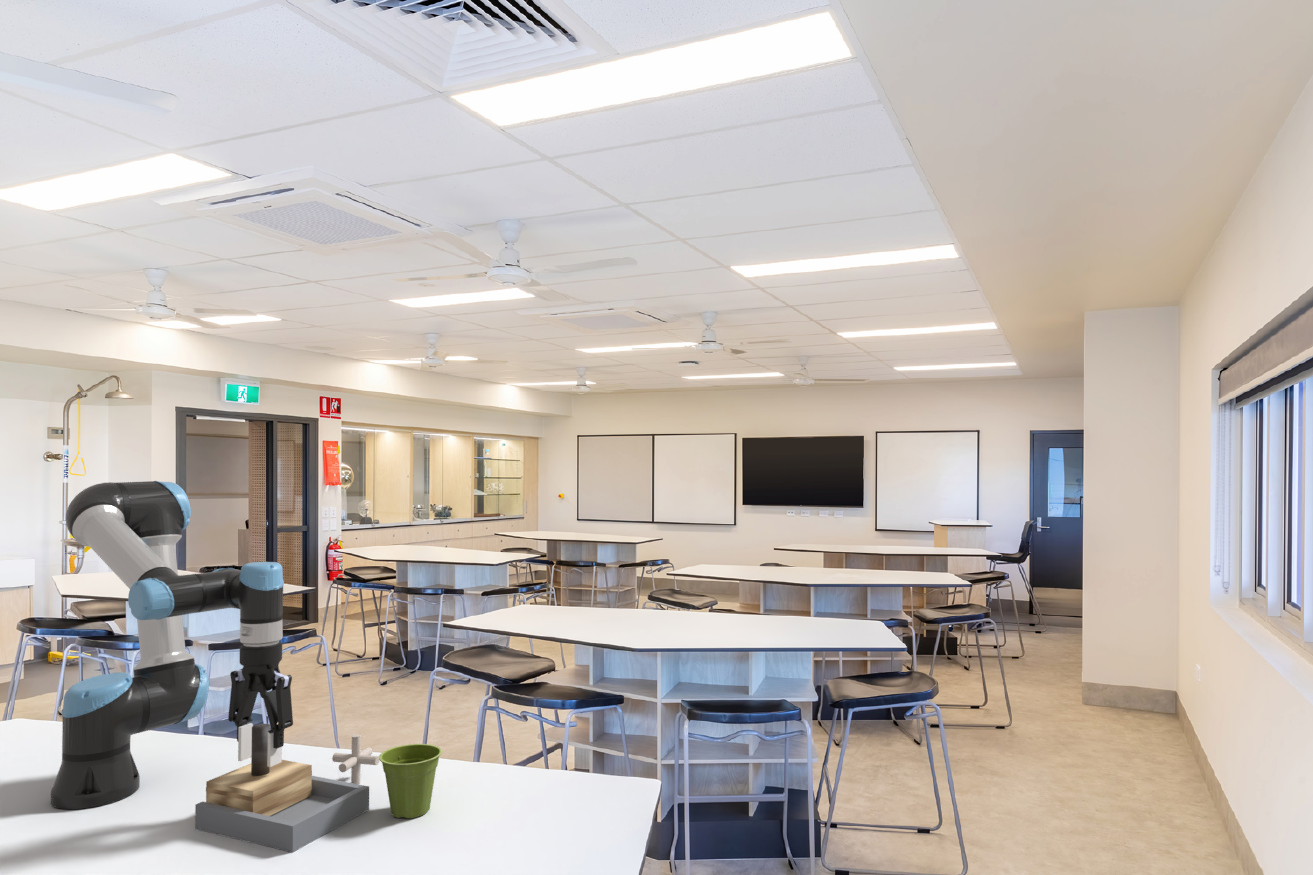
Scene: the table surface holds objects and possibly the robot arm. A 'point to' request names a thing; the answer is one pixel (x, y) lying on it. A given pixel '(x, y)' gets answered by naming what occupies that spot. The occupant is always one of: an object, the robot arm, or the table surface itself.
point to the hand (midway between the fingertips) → (259, 761)
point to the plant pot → (410, 777)
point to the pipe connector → (355, 759)
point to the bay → (289, 816)
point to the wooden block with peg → (261, 781)
